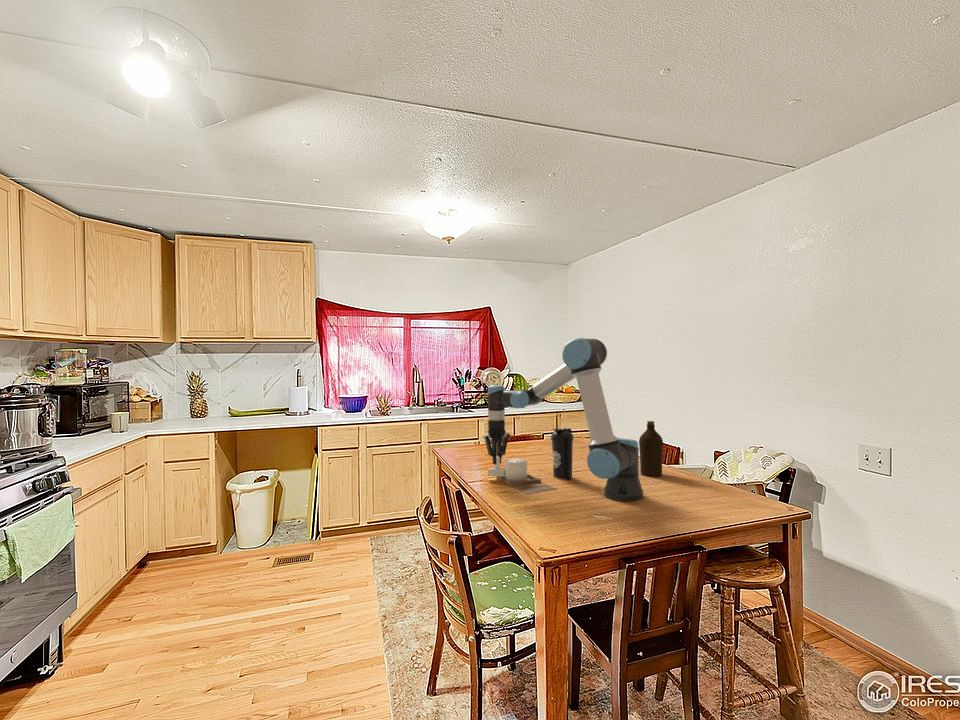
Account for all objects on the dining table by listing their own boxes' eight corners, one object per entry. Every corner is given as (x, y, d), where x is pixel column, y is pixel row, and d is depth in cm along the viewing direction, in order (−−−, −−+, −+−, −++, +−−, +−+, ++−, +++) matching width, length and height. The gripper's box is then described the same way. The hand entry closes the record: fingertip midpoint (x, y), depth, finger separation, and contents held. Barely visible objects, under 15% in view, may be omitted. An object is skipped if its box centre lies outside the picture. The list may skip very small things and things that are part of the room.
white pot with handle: (528, 478, 216) (527, 458, 216) (526, 484, 206) (526, 463, 206) (490, 477, 219) (489, 457, 218) (486, 483, 209) (486, 462, 209)
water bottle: (547, 476, 222) (546, 427, 221) (565, 474, 226) (564, 426, 226) (559, 482, 212) (559, 430, 212) (578, 479, 217) (577, 429, 216)
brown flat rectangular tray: (558, 491, 198) (557, 485, 198) (527, 496, 191) (527, 491, 191) (523, 476, 222) (523, 471, 222) (495, 481, 215) (495, 475, 215)
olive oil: (666, 477, 218) (665, 423, 217) (642, 477, 219) (641, 423, 218) (659, 471, 228) (659, 419, 228) (637, 471, 229) (636, 419, 229)
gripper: (504, 417, 222) (505, 467, 222) (479, 419, 216) (480, 470, 216) (513, 419, 215) (513, 471, 215) (487, 421, 209) (488, 474, 210)
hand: (497, 470), depth 216 cm, fingers closed
